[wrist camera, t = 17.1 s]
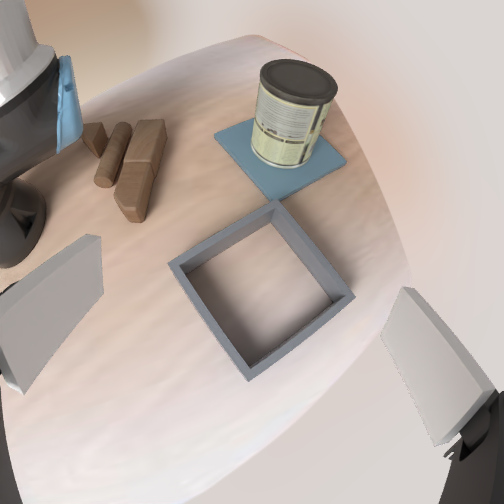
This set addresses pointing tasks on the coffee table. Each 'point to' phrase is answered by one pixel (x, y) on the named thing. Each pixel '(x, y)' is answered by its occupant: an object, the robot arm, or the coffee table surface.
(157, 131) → the wooden block set
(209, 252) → the bin
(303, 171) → the board
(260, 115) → the coffee can
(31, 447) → the coffee table surface
